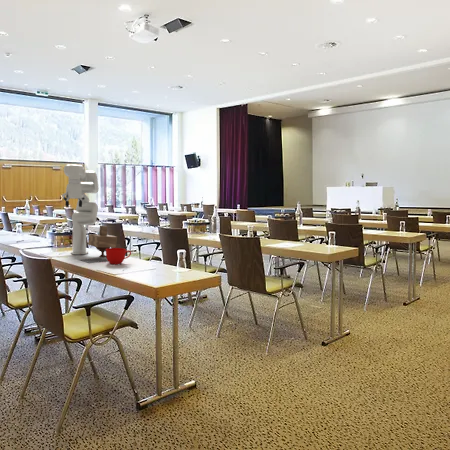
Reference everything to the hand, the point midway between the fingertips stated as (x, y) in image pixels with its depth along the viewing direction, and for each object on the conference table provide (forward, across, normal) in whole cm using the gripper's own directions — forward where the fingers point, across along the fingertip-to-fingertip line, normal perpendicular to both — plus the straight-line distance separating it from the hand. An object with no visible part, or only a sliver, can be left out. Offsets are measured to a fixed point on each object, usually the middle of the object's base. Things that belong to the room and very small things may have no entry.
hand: (73, 206), depth 328 cm
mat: (+36, -6, +20) cm, 42 cm away
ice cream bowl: (+36, -20, +6) cm, 42 cm away
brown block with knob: (+28, -19, +6) cm, 35 cm away
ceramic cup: (+37, -13, +39) cm, 55 cm away
